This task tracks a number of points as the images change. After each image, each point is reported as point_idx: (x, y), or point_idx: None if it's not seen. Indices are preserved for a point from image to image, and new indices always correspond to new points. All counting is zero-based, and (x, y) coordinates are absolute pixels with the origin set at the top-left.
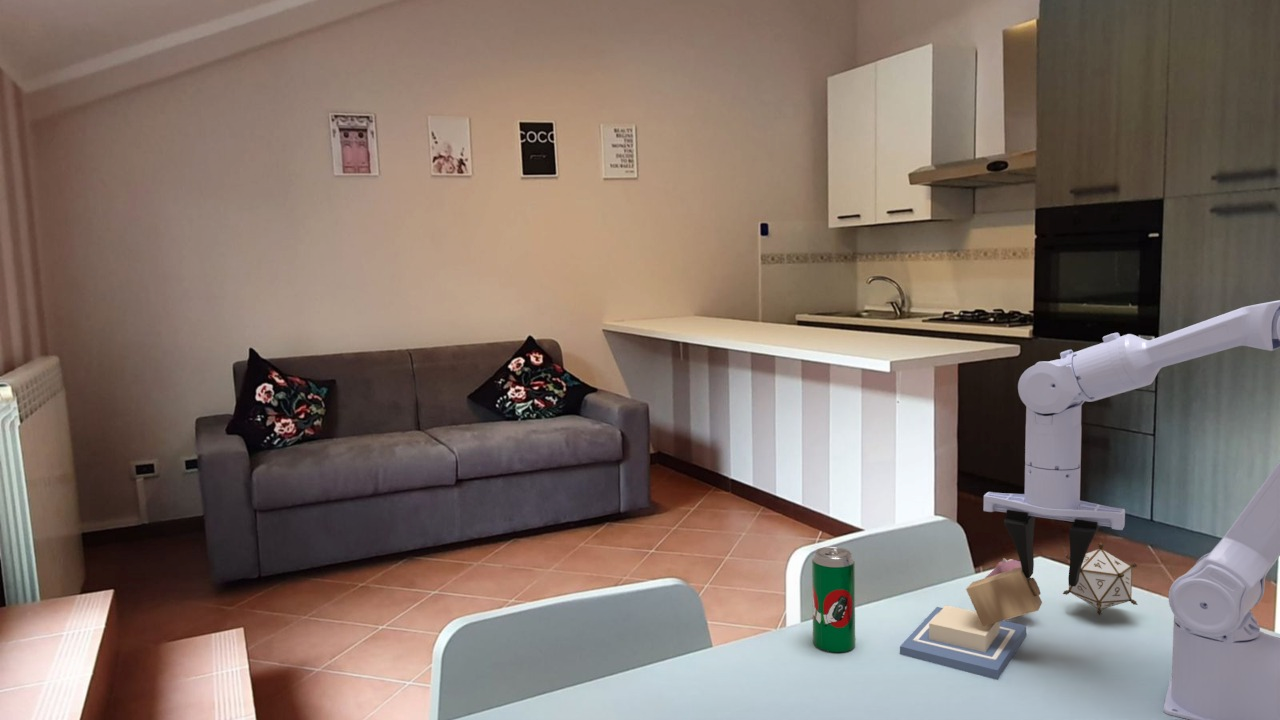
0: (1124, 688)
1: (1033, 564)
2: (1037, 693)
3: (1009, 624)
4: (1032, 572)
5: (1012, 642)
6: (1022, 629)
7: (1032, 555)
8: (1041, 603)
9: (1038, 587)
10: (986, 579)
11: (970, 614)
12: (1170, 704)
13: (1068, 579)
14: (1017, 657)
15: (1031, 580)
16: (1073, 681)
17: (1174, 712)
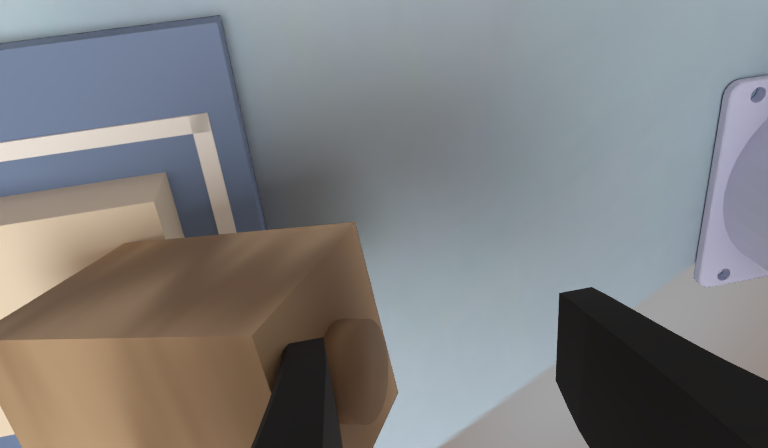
0: (604, 217)
1: (327, 370)
2: (412, 388)
3: (152, 61)
4: (327, 359)
5: (251, 227)
6: (223, 77)
7: (329, 436)
8: (362, 253)
9: (365, 327)
10: (77, 413)
11: (41, 263)
12: (716, 252)
13: (572, 416)
14: None
15: (354, 422)
16: (475, 270)
17: (721, 284)
